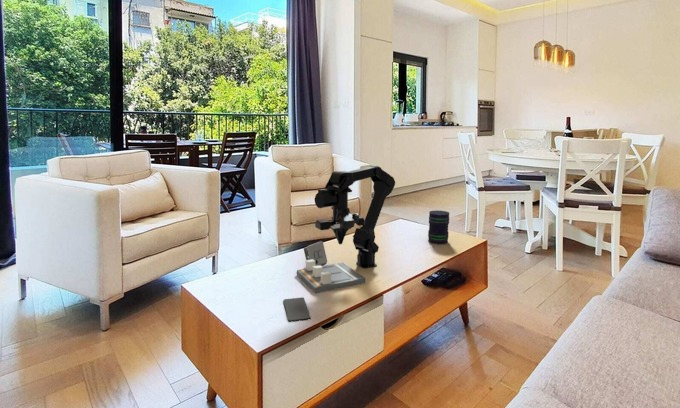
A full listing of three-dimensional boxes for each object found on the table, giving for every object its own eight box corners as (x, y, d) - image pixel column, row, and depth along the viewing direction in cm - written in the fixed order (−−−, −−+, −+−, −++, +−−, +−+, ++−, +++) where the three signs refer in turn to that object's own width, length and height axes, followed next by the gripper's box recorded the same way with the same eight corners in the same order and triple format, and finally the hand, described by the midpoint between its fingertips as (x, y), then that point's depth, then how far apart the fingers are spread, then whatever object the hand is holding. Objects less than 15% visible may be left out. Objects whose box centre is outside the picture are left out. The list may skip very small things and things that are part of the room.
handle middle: (320, 273, 149) (320, 265, 148) (322, 276, 146) (322, 267, 146) (312, 275, 147) (312, 266, 147) (315, 277, 145) (315, 268, 145)
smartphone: (288, 320, 117) (283, 299, 131) (288, 323, 117) (283, 301, 131) (311, 318, 118) (303, 296, 132) (311, 320, 118) (303, 299, 133)
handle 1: (312, 267, 155) (312, 259, 155) (315, 269, 153) (315, 261, 152) (305, 268, 154) (305, 260, 153) (308, 270, 152) (307, 262, 151)
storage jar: (426, 243, 195) (427, 213, 192) (428, 238, 204) (430, 209, 201) (447, 245, 192) (449, 215, 189) (448, 239, 201) (450, 211, 198)
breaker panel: (342, 267, 162) (342, 262, 162) (365, 283, 145) (365, 277, 145) (296, 274, 154) (296, 269, 153) (315, 293, 137) (315, 287, 136)
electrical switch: (312, 269, 160) (310, 246, 159) (303, 267, 164) (301, 245, 162) (327, 262, 168) (326, 241, 166) (318, 261, 171) (317, 240, 170)
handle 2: (328, 280, 142) (328, 271, 141) (331, 283, 140) (331, 273, 139) (320, 282, 141) (320, 272, 140) (323, 284, 139) (323, 275, 138)
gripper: (326, 210, 139) (326, 253, 142) (372, 206, 147) (371, 246, 150) (314, 205, 149) (315, 245, 152) (358, 201, 156) (357, 239, 159)
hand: (340, 244), depth 153 cm, fingers closed
